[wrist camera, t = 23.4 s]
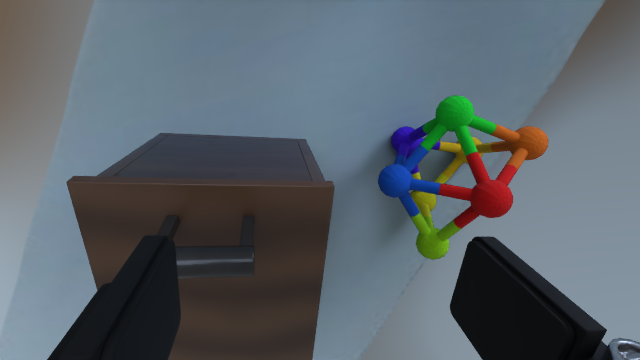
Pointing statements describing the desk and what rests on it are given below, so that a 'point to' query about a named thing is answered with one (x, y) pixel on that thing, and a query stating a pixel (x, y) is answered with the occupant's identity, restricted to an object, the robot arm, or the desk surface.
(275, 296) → the chest lid
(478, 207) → the educational toy
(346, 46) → the desk surface
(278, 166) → the chest
